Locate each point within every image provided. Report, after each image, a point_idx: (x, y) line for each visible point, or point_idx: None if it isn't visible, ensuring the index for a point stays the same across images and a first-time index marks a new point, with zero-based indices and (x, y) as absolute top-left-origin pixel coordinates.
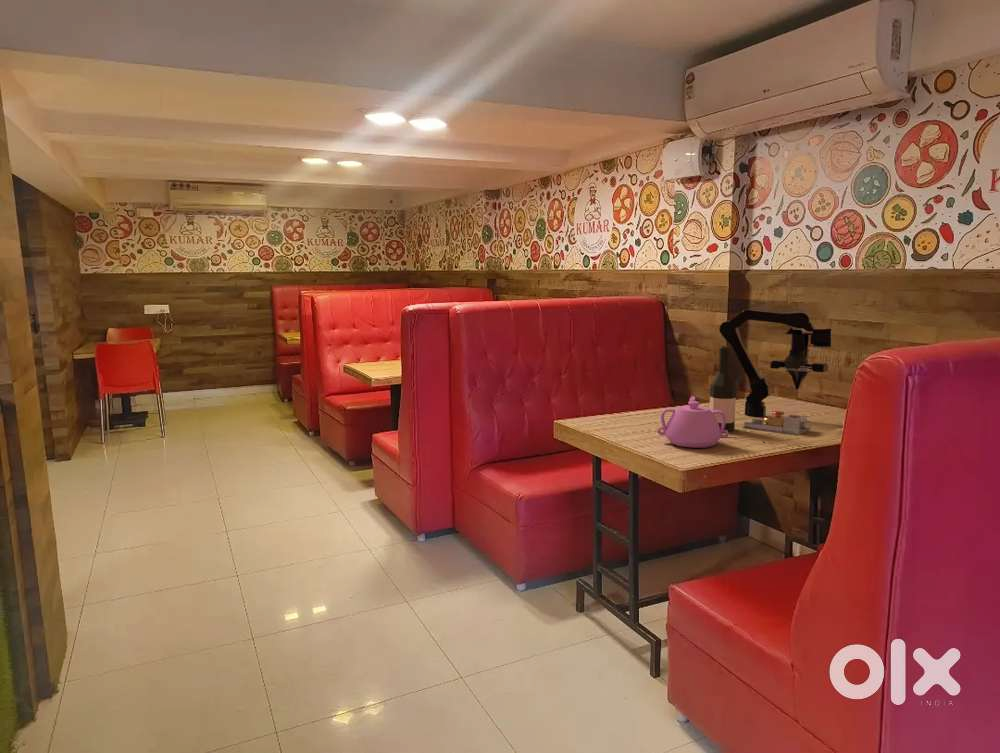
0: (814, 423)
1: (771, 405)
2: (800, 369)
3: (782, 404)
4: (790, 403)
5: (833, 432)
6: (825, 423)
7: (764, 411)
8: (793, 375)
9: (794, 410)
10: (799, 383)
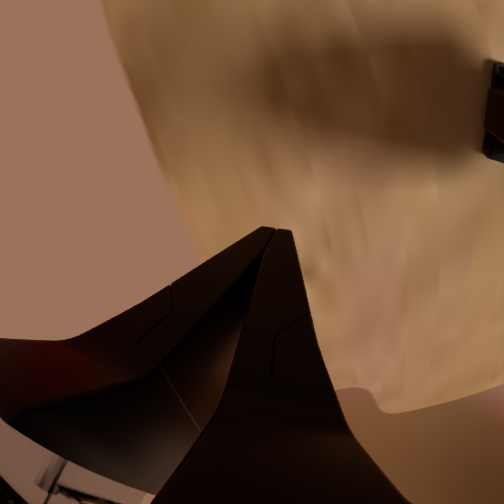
0: (226, 134)
1: (440, 378)
2: (43, 481)
3: (406, 394)
4: (384, 406)
5: (104, 15)
6: (192, 165)
7: (501, 114)
8: (274, 402)
9: (369, 346)
10: (210, 261)
